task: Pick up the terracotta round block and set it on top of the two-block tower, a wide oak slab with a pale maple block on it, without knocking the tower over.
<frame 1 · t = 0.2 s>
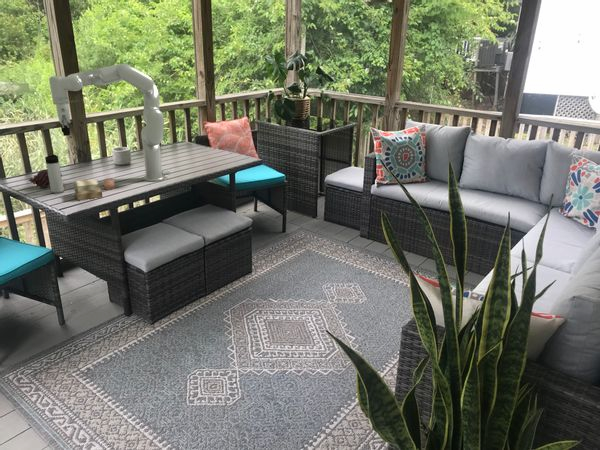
hand: (66, 133, 258), 31 cm above the table, tool pointing down, fingers open, 9 cm apart
oak base block: (89, 196, 259), on the table, touching maple top block
pine cone: (48, 187, 271), on the table
terracotta round block: (109, 188, 272), on the table
maple top block: (87, 189, 257), point 4 cm above the table, touching oak base block
travel mug: (57, 192, 264), on the table
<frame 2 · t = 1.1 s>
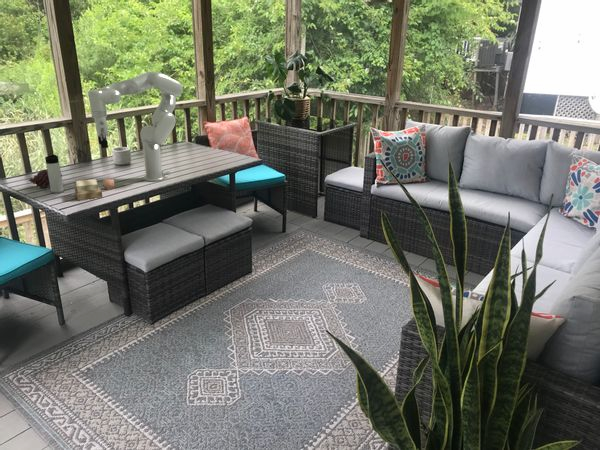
hand: (103, 145, 262), 24 cm above the table, tool pointing down, fingers open, 9 cm apart
nothing on the table moved.
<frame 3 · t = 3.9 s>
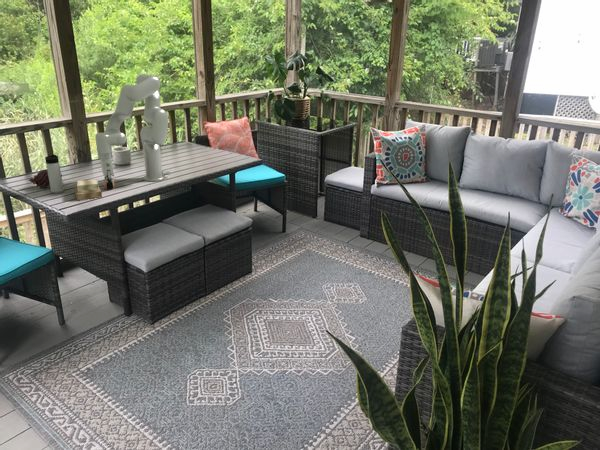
hand: (109, 187, 271), 1 cm above the table, tool pointing down, fingers closed on terracotta round block, 5 cm apart
terracotta round block: (109, 188, 272), on the table, touching gripper
when the fingers open (10 cm above the table, at t = 10.1 s): terracotta round block drops 1 cm, point 7 cm above the table.
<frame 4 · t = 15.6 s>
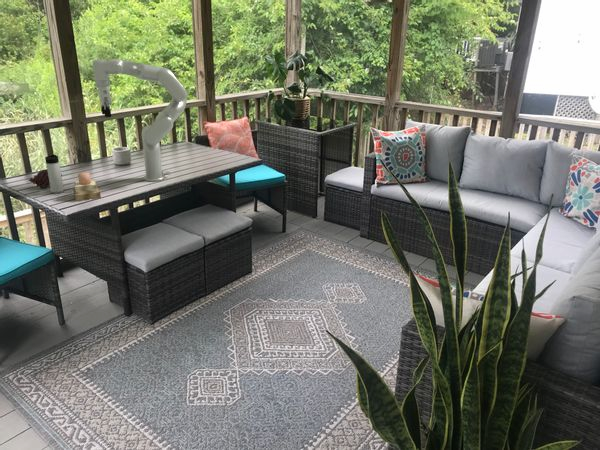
hand: (106, 115, 269), 38 cm above the table, tool pointing down, fingers open, 9 cm apart
terracotta round block: (85, 183, 255), point 7 cm above the table
maple top block: (86, 190, 257), point 3 cm above the table, touching oak base block
at the end: terracotta round block 0.1 cm off-centre on the maple top block, point 4.0 cm above the maple top block's base; maple top block 0.4 cm off-centre on the oak base block, point 4.0 cm above the oak base block's base; terracotta round block tilted 0° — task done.
